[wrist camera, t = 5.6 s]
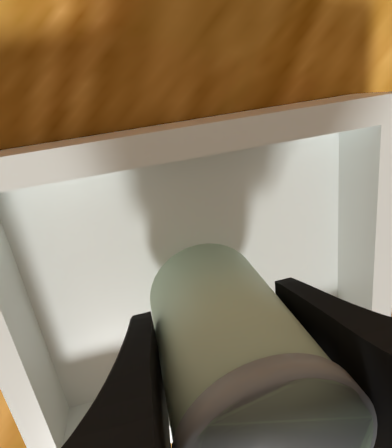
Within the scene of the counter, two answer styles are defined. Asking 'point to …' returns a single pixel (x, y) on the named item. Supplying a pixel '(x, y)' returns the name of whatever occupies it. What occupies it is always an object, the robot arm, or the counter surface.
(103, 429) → the robot arm
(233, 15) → the counter surface
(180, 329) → the tin
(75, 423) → the bin
